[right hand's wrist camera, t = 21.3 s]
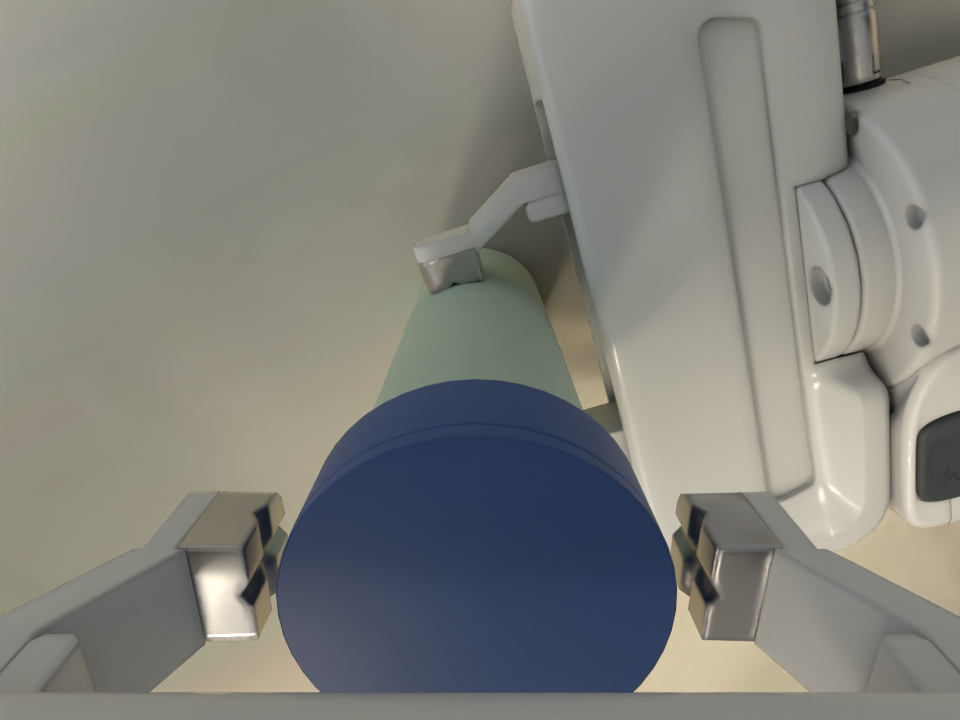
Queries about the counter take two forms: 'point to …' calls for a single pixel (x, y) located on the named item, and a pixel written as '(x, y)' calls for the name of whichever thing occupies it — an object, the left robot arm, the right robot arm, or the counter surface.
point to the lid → (476, 552)
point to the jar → (481, 335)
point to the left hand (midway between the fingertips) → (453, 359)
